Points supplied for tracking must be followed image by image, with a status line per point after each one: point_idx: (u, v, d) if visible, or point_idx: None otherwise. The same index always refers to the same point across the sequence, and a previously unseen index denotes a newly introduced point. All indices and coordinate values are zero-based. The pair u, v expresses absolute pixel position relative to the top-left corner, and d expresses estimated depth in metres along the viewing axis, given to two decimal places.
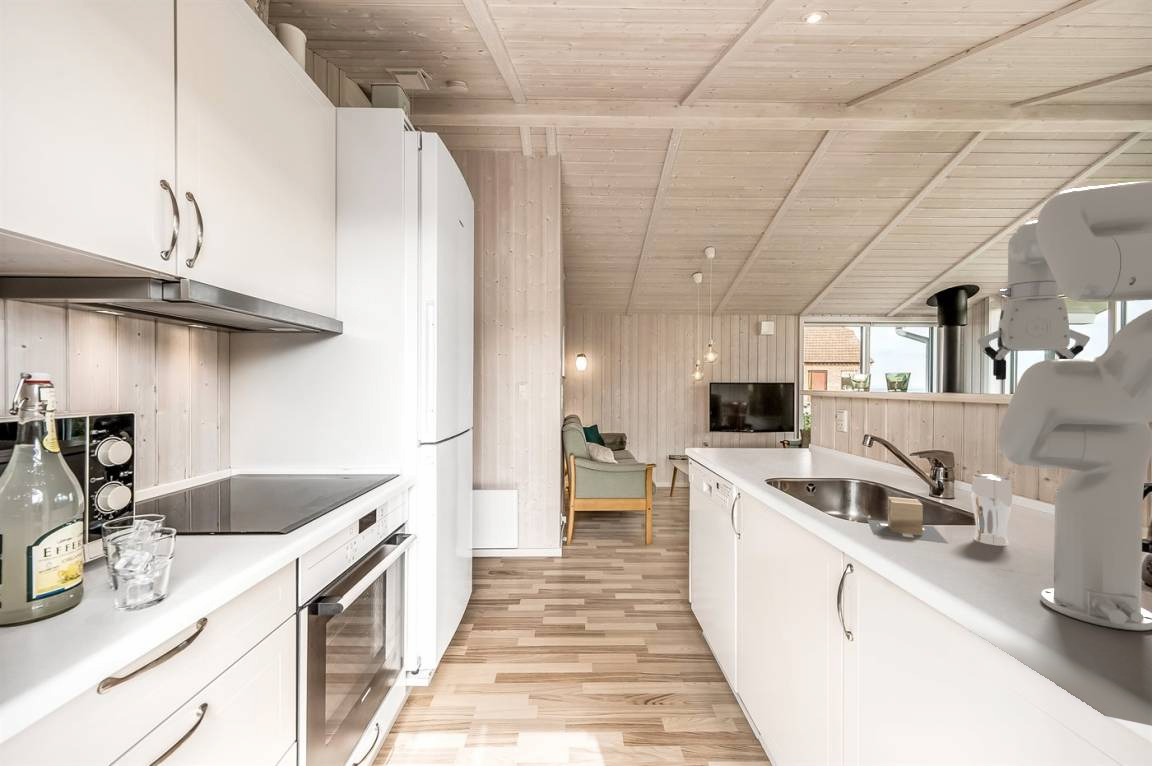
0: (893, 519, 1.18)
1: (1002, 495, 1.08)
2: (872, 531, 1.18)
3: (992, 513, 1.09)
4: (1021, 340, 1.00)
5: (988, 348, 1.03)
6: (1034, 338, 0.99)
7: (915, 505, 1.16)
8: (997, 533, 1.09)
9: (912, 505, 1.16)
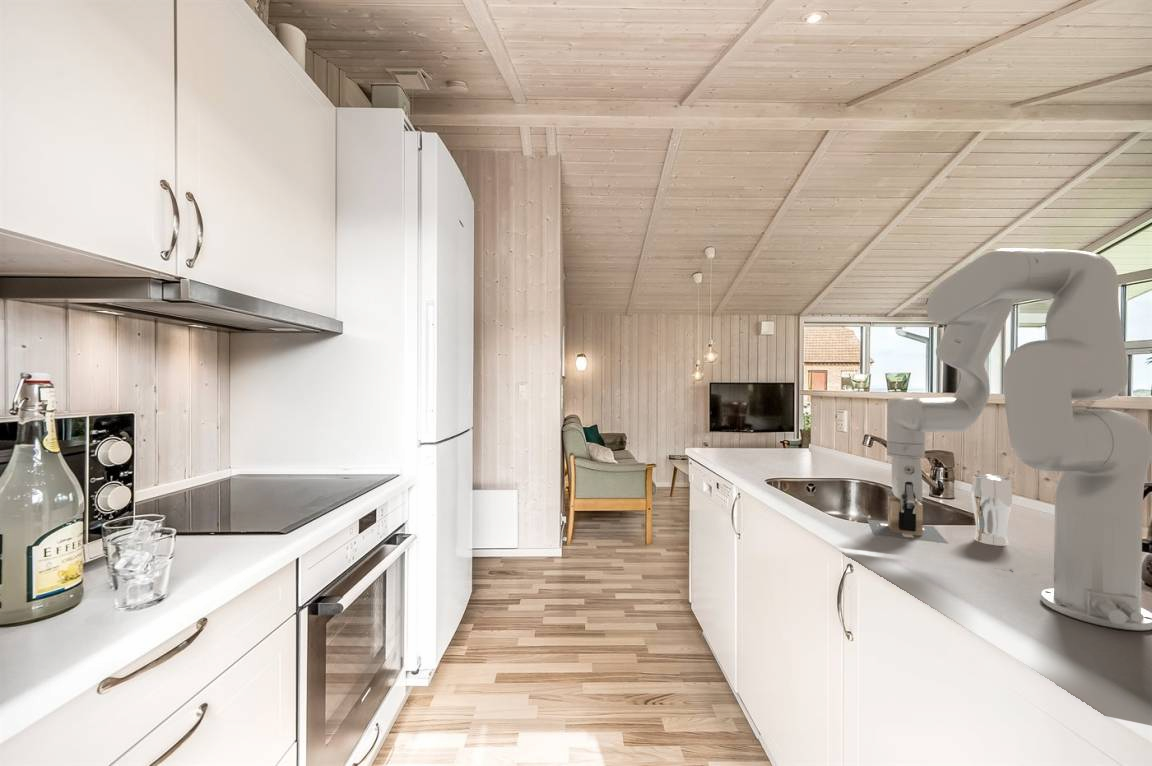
0: (893, 519, 1.18)
1: (1003, 495, 1.08)
2: (872, 531, 1.18)
3: (992, 513, 1.09)
4: None
5: (914, 505, 1.14)
6: None
7: (915, 505, 1.16)
8: (997, 533, 1.09)
9: None
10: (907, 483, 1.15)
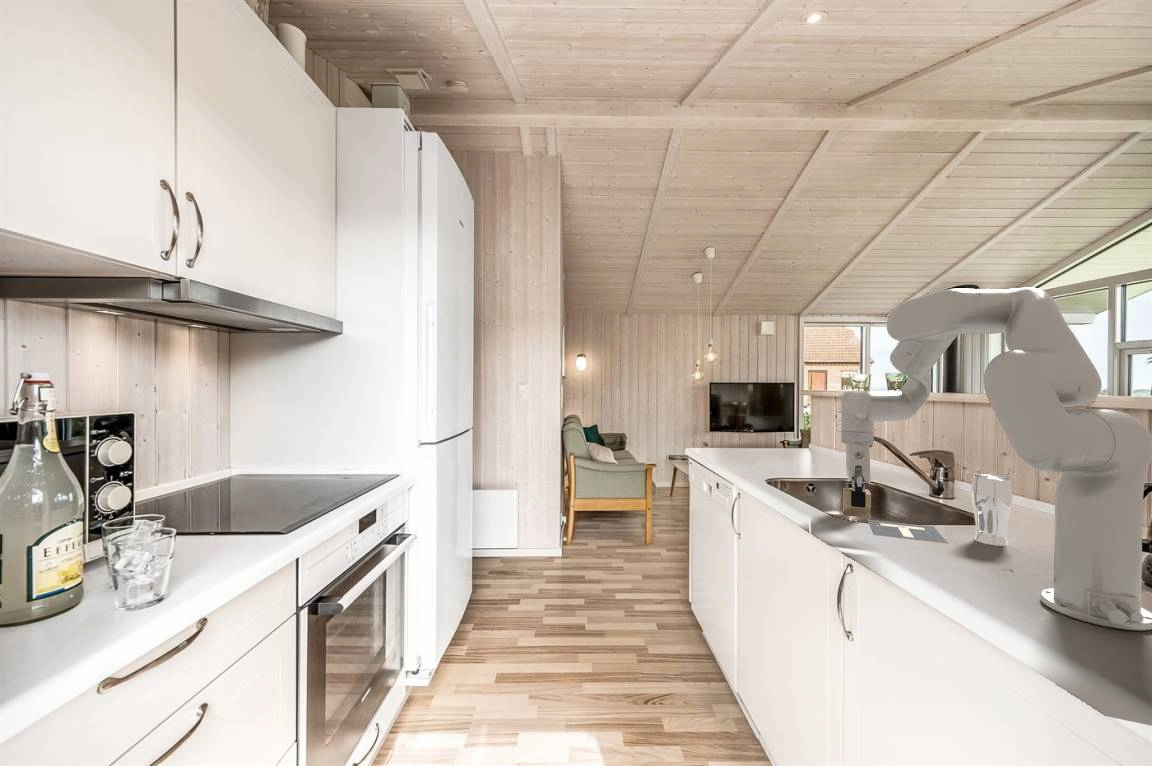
0: (845, 507, 1.32)
1: (1003, 495, 1.08)
2: (872, 531, 1.18)
3: (992, 513, 1.09)
4: None
5: (863, 484, 1.27)
6: None
7: None
8: (997, 533, 1.09)
9: None
10: (857, 465, 1.30)
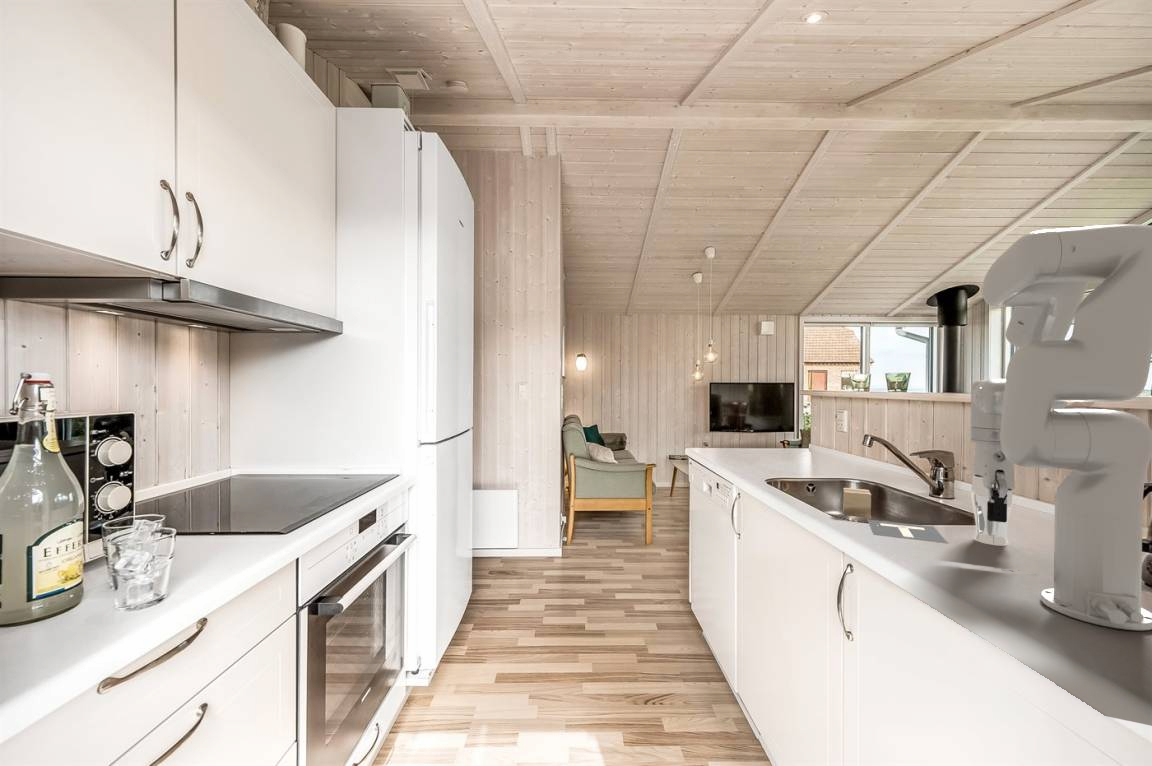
0: (845, 507, 1.32)
1: None
2: (872, 531, 1.18)
3: None
4: None
5: (1006, 494, 1.06)
6: None
7: (864, 494, 1.30)
8: (997, 533, 1.09)
9: (862, 494, 1.31)
10: (997, 471, 1.08)
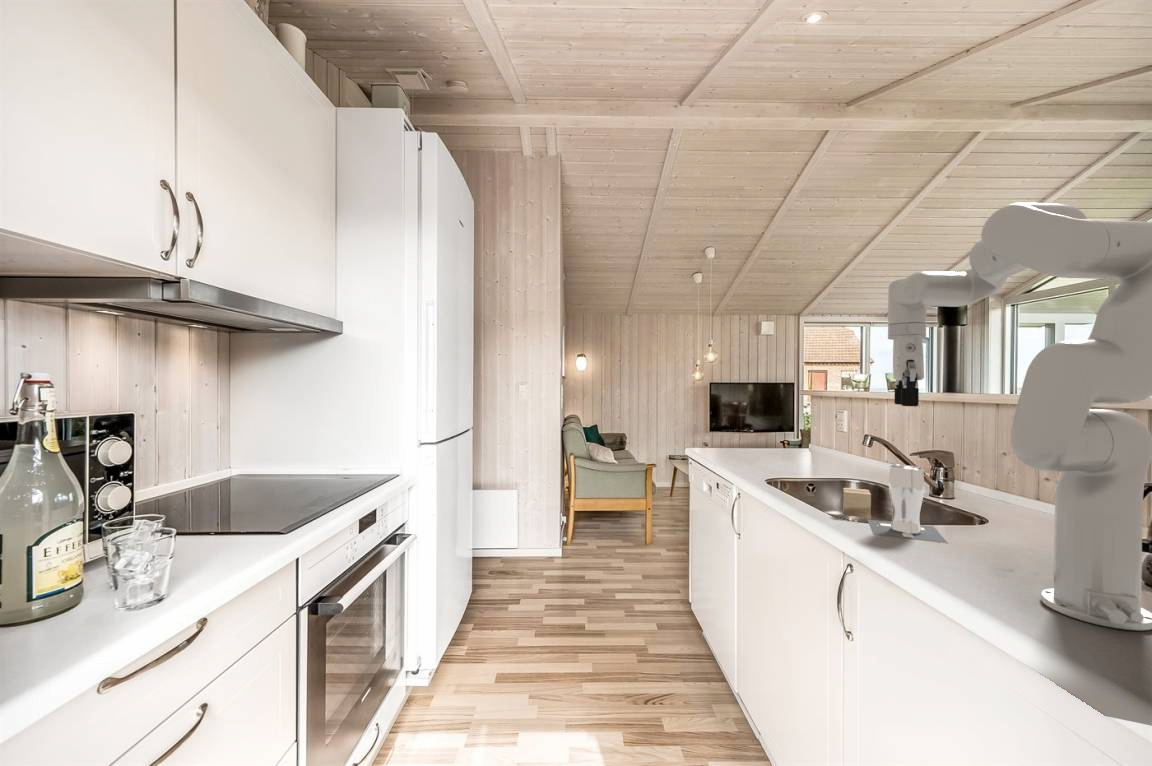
0: (845, 507, 1.32)
1: (914, 484, 1.15)
2: (872, 531, 1.18)
3: (905, 500, 1.16)
4: None
5: (916, 378, 1.12)
6: None
7: (864, 494, 1.30)
8: (910, 519, 1.16)
9: (862, 494, 1.31)
10: (908, 360, 1.15)
